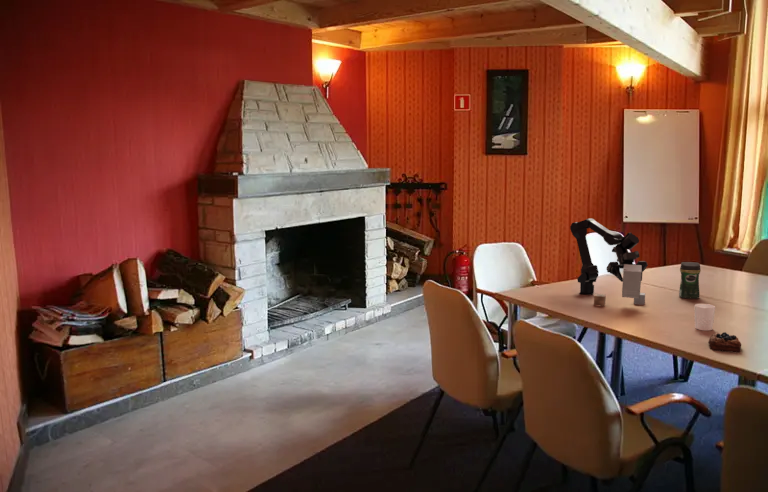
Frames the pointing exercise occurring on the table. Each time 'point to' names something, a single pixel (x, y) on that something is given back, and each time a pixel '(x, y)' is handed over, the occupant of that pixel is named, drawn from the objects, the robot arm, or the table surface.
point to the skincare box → (631, 281)
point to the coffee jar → (689, 280)
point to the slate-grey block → (640, 299)
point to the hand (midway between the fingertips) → (631, 281)
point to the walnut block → (599, 299)
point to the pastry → (724, 343)
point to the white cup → (704, 316)
